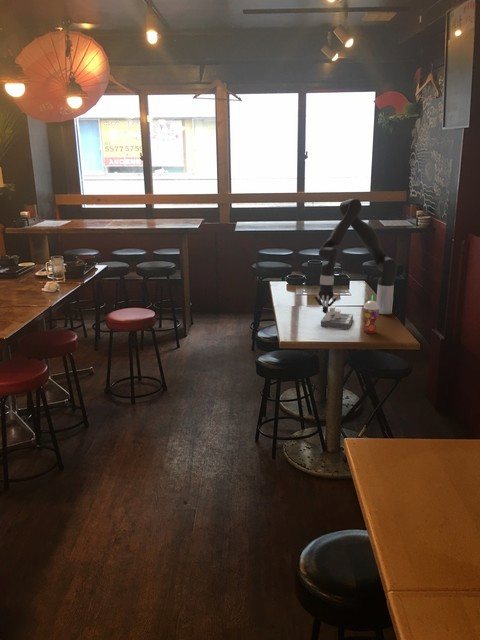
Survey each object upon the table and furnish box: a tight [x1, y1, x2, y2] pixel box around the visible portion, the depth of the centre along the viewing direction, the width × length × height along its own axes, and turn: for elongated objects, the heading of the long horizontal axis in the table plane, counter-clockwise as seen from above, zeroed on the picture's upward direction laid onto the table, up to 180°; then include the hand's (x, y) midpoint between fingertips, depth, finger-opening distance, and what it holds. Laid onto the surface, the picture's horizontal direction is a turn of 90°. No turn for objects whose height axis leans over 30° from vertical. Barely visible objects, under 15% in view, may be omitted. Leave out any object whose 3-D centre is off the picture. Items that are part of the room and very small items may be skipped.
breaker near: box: [325, 310, 332, 321], centre depth 308 cm, size 2×5×4 cm, turn 162°
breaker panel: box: [320, 312, 354, 330], centre depth 314 cm, size 15×20×3 cm
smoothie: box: [362, 295, 380, 334], centre depth 295 cm, size 8×8×20 cm
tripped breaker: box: [335, 308, 342, 319], centre depth 312 cm, size 2×5×4 cm, turn 162°
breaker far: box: [329, 305, 336, 315], centre depth 320 cm, size 2×5×4 cm, turn 162°
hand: (325, 312), depth 315 cm, fingers closed
